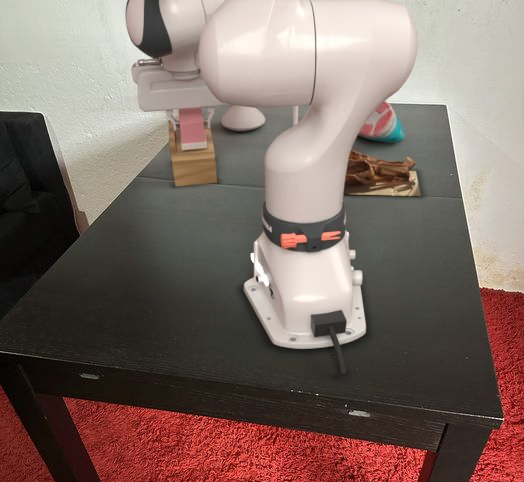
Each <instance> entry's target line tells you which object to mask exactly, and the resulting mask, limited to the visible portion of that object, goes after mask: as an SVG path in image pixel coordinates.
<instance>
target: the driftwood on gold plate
mask: <svg viewBox="0 0 524 482" xmlns="http://www.w3.org/2000/svg"><path fill="white" fill-rule="evenodd" d="M405 159H406V161H404V160H401V161H400V160H394V161H393V160H383V159H379V158H375V157H372V156H369V155H366V154H362V152H359V151H356V150H354V149H353V148H352V149H351V152H350V155H349V159H348V164H347V170H346V177H345V184H344V192H343V195H359V196H360V195H361V196H363V195H367V196H369V195H370V196H392V197H395V196H403V197H405V196H406V197H407V196H408V197H421V196H422V193H421V189H420V188H419V181H418V180H419V179H418V175H417V171H416V170H412V169H413V168H414V166H417V163H416V162H415V160H414V159H413V158H411V157H409V156H406V158H405Z"/></svg>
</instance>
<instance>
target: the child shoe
mask: <svg viewBox="0 0 524 482" xmlns="http://www.w3.org/2000/svg"><path fill="white" fill-rule="evenodd" d="M177 110H178V120H179V122H180V130H181V131H180V133H181V145H182V150H190V149H202V148H207V141H206V135H205V129H204V121H203V118H204V116H203V111H202V107H201V108H189V109H177Z"/></svg>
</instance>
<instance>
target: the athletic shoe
mask: <svg viewBox="0 0 524 482" xmlns="http://www.w3.org/2000/svg"><path fill="white" fill-rule="evenodd" d="M405 134H406V133H405V130H404V128H403V126H402V123H401V121H400V119H399V118H398V116H397V114H396V112H395V110H394V108H392V105H391V104H390V103H389V102H387V100H385V101H384V102H383V103H382V104H381V105H380V106H379V107H378V108H377V109H376V110H375V111H374V112H373V113H372V115H371V116H370V117H369V118H368V120H367V121H366V122H365V124H364V125H363V127H362V128H361V130H360V132H359V134H358V135H357V137H360V138H364V139H366V140H368V141H369V140H370V141H374V142H381V143H391V144H393V143H394V144H396V143H400V142H402V141H403V140H404V139H405V136H406V135H405Z"/></svg>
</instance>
